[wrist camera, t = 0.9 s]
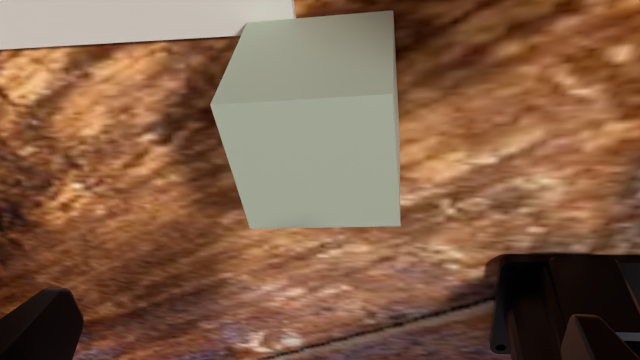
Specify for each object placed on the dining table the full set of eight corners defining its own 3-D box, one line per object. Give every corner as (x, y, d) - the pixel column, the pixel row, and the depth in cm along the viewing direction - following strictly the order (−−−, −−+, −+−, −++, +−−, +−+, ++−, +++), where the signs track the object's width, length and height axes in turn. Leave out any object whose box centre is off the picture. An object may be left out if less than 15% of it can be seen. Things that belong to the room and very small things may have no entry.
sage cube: (399, 132, 21) (400, 226, 17) (275, 137, 22) (250, 228, 18) (393, 10, 18) (392, 94, 14) (247, 22, 19) (210, 105, 15)
